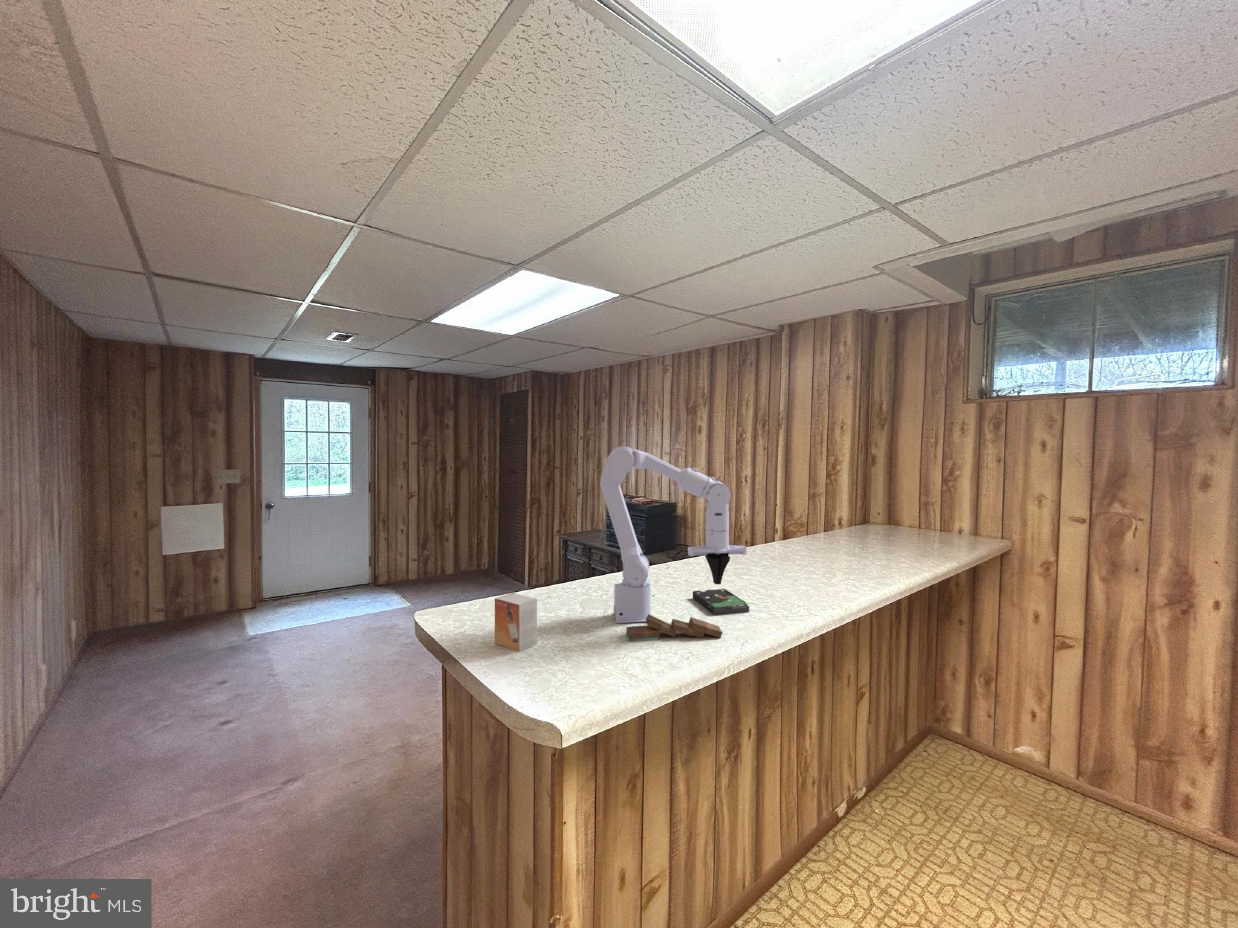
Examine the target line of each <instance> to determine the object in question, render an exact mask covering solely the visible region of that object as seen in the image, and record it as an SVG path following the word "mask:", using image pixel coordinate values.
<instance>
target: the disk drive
mask: <svg viewBox="0 0 1238 928" xmlns="http://www.w3.org/2000/svg"><path fill="white" fill-rule="evenodd" d="M692 600H694V602H696V603H698V604H699V605H700V606H701V607H703V608H704V609H706V610H707V611H708V612H709V613H710V614H712V615H713V616H721V615H722V616H723V615H733V614H734V615H735V614H744V613H749V612H750V606H749V605H748V603H747V601H745V600H743V599H741V598H740V597H738V596H737V595H735V594H733V593H732V592H731V591H729V590H728V589H726V588H717V589H706V590H705V591H701V590H693V591H692Z"/></svg>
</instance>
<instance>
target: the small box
mask: <svg viewBox="0 0 1238 928" xmlns="http://www.w3.org/2000/svg"><path fill="white" fill-rule="evenodd" d="M494 644H496V645H499V646H501V645H502V646H501V647H503V648H507V649H509V650H512V651H515V652H516V653H520V652H523V651H524V650H527V649H529V648H531V647H534V646H536V645H537V644H538V598H536V597H530V596H526V595H523V594H519V593H515V592H510V593H507V594H504V595H501V596H498V597H495V598H494ZM535 644H536V645H535ZM533 645H534V646H533Z"/></svg>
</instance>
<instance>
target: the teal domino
mask: <svg viewBox="0 0 1238 928" xmlns="http://www.w3.org/2000/svg"><path fill="white" fill-rule="evenodd" d="M625 635H626V640H627V641H628V642H635V641H657V640H659V637H657V638H643V639H629V637H628V635H627V633H626V632H625Z"/></svg>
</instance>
